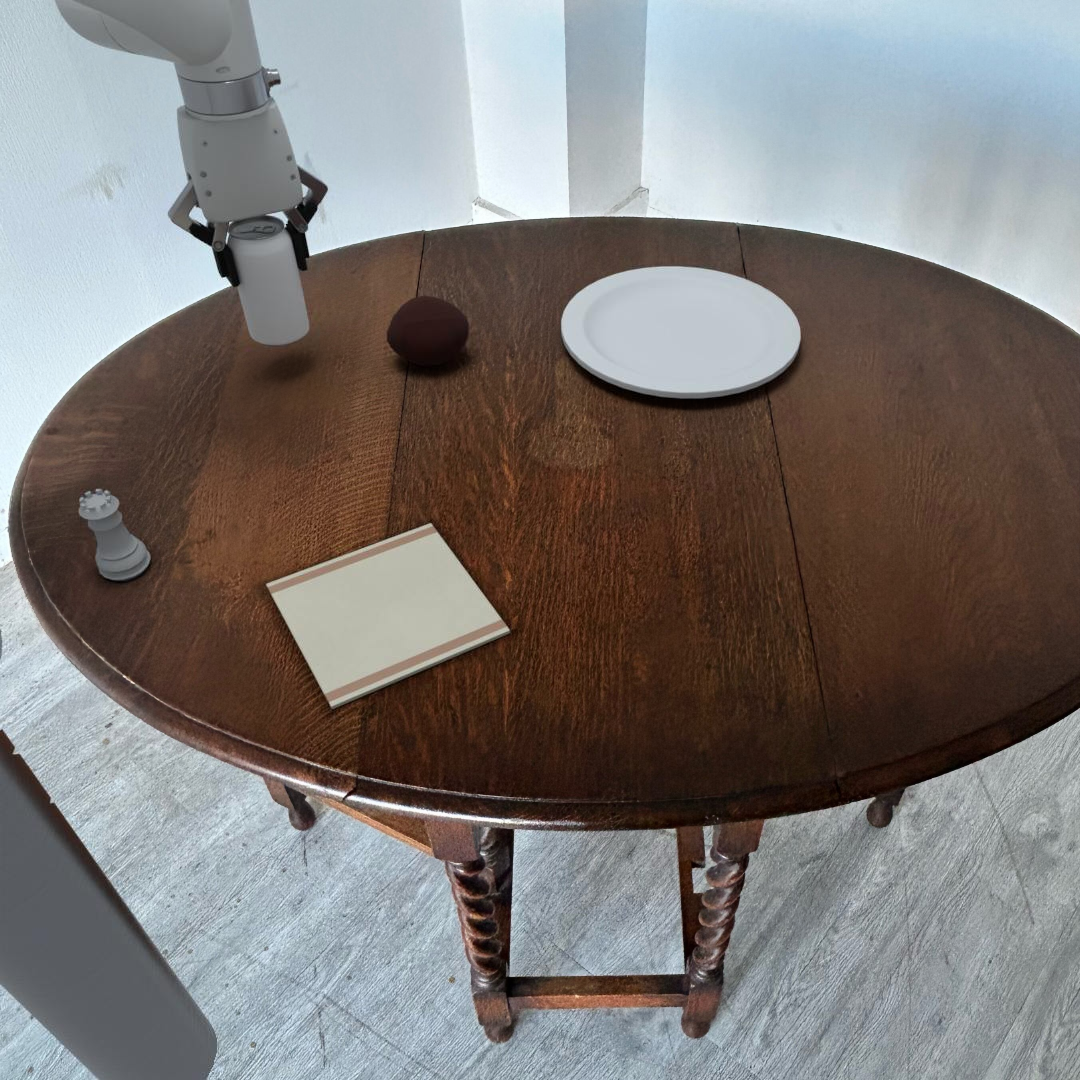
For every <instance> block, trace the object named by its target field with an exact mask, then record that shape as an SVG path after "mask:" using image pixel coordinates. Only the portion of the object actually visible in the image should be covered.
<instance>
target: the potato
mask: <svg viewBox="0 0 1080 1080" xmlns="http://www.w3.org/2000/svg"><path fill="white" fill-rule="evenodd" d="M469 326H470V323H469V321H468V318H467V316H466V315H465V314H464V313H463V312H462V311H461V310H460V309H459V308H458V307H457V306H455V305H454V304H453V303H451V302H449V301H447V300H445V299H443V298H440V297H436V296H430V295H421V296H417V297H412V298H410V299H409V300H407V301H406V302H404V303H403V304H401V306H400V307H399V308H398V309H397V311H396V312H395V313H394V314H393V316H392V317H391V320H390V323H389V326H388V327H387V331H386V341H387V343H388V346H389V347H390V349H392V350H393V352H394V353H395V354H397V355H398V356H399V357H400V358H402V359H404V360H406V361H408V362H410V363H412V364H416V365H419V366H423V367H424V366H438V365H440V364H443V363H446V362H448V361H450V360H452V359H453V358H455V357H456V356H457V355H458V354H459V353H460V352H461V351H462V350H463V349H464V347H465V345H466V343H467V342H468V339H469V334H470V333H469V331H470V330H469V329H470V327H469Z"/></svg>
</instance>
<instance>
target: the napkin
mask: <svg viewBox="0 0 1080 1080" xmlns="http://www.w3.org/2000/svg"><path fill="white" fill-rule="evenodd" d="M265 586H266V589H267V590H268V592H269V594H270V596H271V598H272V599H273V601H274V603H275V605H276V607H277V609H278V611H279V613H280V615H281V616H282V618H283V620H284V622H285V624H286V626H287V628H288V630H289V631H290V634H291V635H292V637H293V639H294V641H295V643H296V645H297V647H298V648H299V651H300V652H301V654H302V656H303V658H304V660H305V662H306V663H307V666H308V667H309V670H310V671H311V673H312V675H313V677H314V679H315V680H316V682H317V685H318V686H319V689H320V690H321V692H322V694H323V696H324V697H325V699H326V702H327V703H328V705H329V707H330V709H331V710H335V709H337V708H340V707H341V706H343V705H346V704H348V703H350V702H351V703H352V702H353V701H355V700H358V699H360V698H363V697H364V696H367V695H370V694H372V693H374V692H376V691H379V690H381V689H383V688H385V687H387V686H391V685H392V684H395V683H398V682H400V681H402V680H405V679H407V678H408V677H411V676H413V675H416V674H419V673H421V672H423V671H425V670H427V669H430V668H432V667H435V666H437V665H439V664H442V663H444V662H446V661H449V660H451V659H453V658H456V657H458V656H460V655H462V654H465V653H468V652H470V651H472V650H474V649H476V648H479V647H481V646H483V645H485V644H489V643H490V642H493V641H495V640H497V639H499V638H502V637H505V636H508V635H509V634H511V630H510V628H509V627H508V626H507V624H506V623H505V621H504V620H503V619H502V618H501V616H500V614H499V613H498V612H497V610H496V609H495V608H494V607H493V605H492V604H491V603H490V601H489V600H488V598H487V597H486V596H485V594H484V593H483V592H482V590H481V589H480V588H479V586H478V585H477V583H476V582H475V581H474V580H473V578H472V577H471V575H470V573H468V571H467V570H466V568H465V567H464V566H463V564H462V563H461V562H460V561H459V559H458V557H457V556H456V555H455V554H454V552H453V551H452V549H451V548H450V547H449V546H448V544H447V543H446V541H445V539H444V538H443V537H442V536H441V535H440V533H439V532H438V530H437V529H436V527H435V526H434V525H433V524H432V523H431V522H430V523H427V524H425V525H422V526H419V527H416V528H414V529H413V528H412V529H410V530H407V531H406V532H403V533H399V534H398V535H394V536H392V537H389V538H386V539H383V540H381V541H379V542H376V543H373V544H370V545H367V546H365V547H362V548H360V549H357V550H354V551H351V552H349V553H346V554H343V555H340V556H338V557H335V558H332V559H330V560H327V561H324V562H321V563H319V564H317V565H313V566H311V567H308V568H305V569H303V570H300V571H298V572H294V573H292V574H289V575H287V576H283V577H281V578H279V579H276V580H273V581H270V582H268V583H266V584H265Z"/></svg>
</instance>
